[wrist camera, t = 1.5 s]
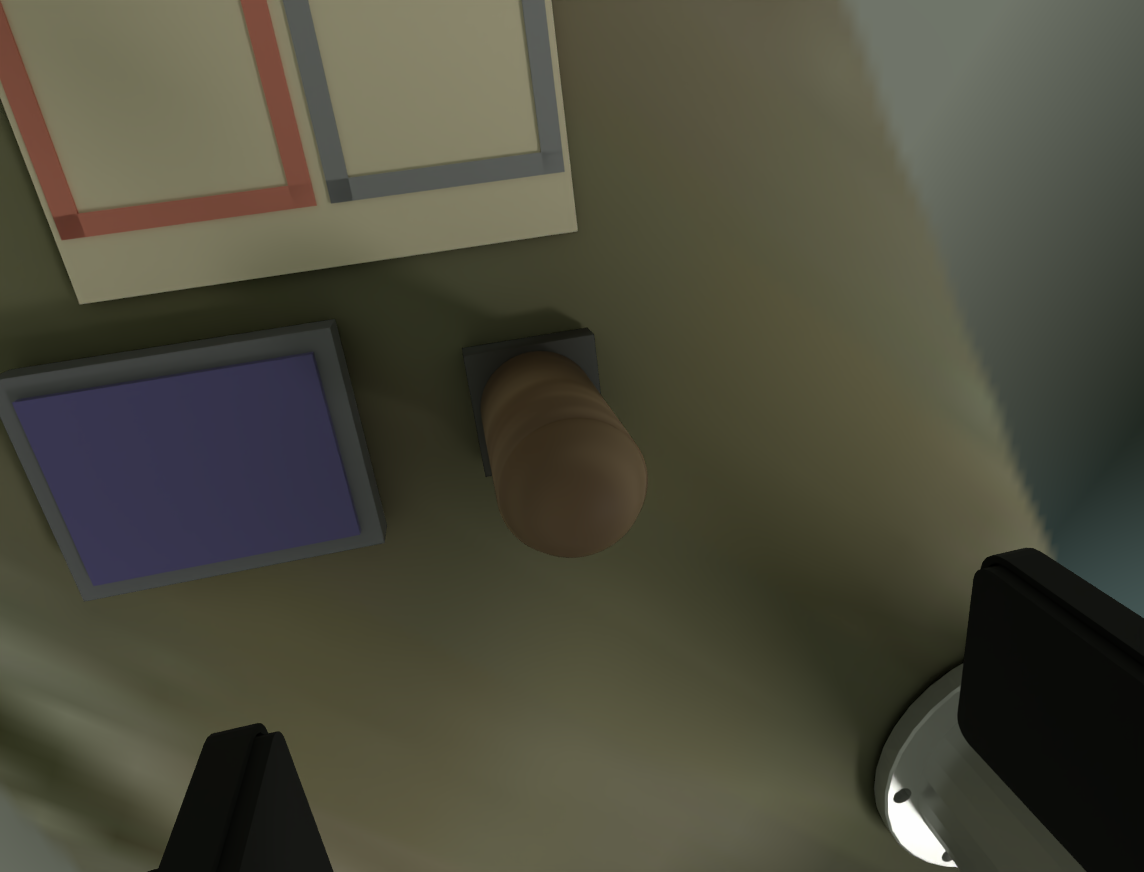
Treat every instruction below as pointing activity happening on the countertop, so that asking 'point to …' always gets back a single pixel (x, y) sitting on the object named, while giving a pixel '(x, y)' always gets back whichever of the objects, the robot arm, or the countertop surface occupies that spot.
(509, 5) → the card sheet
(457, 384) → the countertop surface
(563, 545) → the stamp
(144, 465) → the ink pad
